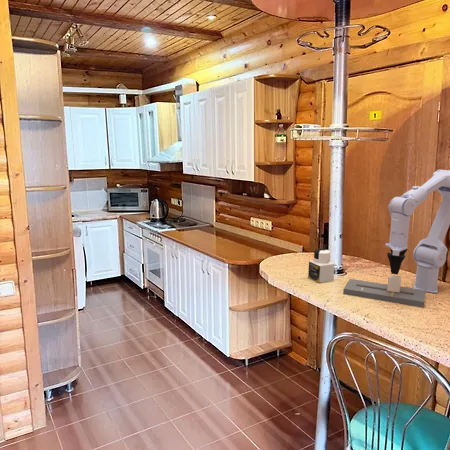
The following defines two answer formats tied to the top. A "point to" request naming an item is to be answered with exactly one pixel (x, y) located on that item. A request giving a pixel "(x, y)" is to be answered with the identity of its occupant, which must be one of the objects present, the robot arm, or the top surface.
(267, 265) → the top surface
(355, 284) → the fader console
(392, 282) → the fader tab
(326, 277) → the medicine bottle
